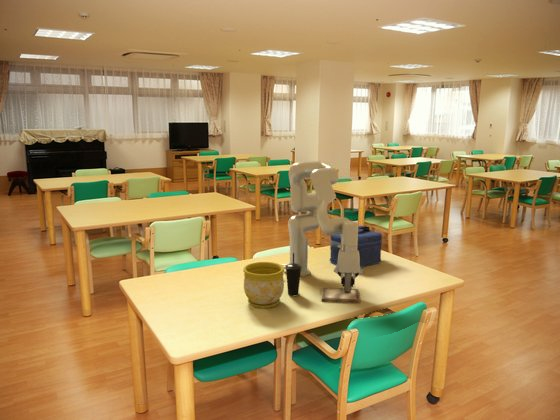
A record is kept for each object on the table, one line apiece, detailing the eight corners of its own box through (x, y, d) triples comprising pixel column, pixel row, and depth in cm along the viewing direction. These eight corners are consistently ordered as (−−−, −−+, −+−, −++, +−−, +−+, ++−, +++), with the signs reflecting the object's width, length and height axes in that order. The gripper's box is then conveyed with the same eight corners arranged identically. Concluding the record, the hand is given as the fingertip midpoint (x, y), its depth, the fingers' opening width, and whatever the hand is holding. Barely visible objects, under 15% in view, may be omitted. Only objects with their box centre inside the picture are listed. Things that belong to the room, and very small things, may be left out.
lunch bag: (361, 252, 272) (363, 220, 268) (388, 261, 256) (390, 227, 252) (324, 262, 254) (325, 227, 250) (351, 272, 238) (352, 235, 234)
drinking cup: (289, 298, 202) (290, 256, 198) (282, 292, 208) (282, 252, 204) (304, 295, 205) (304, 254, 201) (296, 289, 212) (296, 250, 208)
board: (321, 301, 198) (321, 298, 198) (322, 289, 212) (322, 286, 212) (359, 303, 196) (359, 300, 196) (358, 291, 210) (358, 288, 210)
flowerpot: (269, 314, 184) (269, 277, 181) (235, 305, 194) (234, 270, 190) (291, 300, 199) (291, 265, 196) (258, 292, 209) (258, 259, 205)
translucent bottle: (343, 293, 204) (344, 266, 201) (343, 290, 207) (344, 264, 205) (351, 293, 203) (352, 267, 201) (351, 290, 207) (352, 264, 204)
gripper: (330, 249, 199) (329, 287, 202) (367, 251, 196) (366, 289, 200) (331, 244, 206) (329, 282, 209) (366, 246, 204) (365, 283, 207)
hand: (347, 285), depth 205 cm, fingers closed on translucent bottle, 3 cm apart
